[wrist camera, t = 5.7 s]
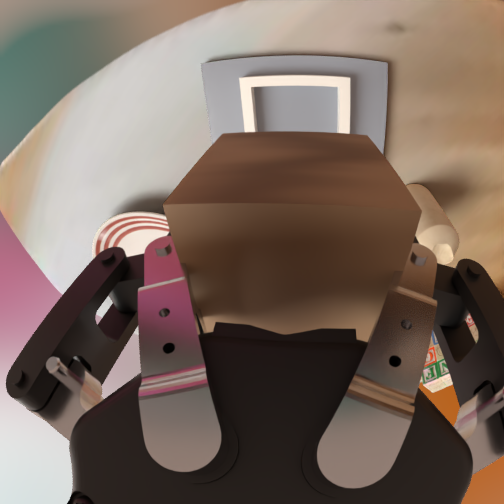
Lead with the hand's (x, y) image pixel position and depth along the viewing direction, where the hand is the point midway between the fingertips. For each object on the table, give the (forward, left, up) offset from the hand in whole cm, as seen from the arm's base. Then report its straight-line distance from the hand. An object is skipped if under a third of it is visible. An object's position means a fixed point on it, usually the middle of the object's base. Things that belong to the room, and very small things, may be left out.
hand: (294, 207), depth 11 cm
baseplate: (0, 0, -18) cm, 18 cm away
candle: (-14, +9, -19) cm, 25 cm away
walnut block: (0, 0, -1) cm, 1 cm away
